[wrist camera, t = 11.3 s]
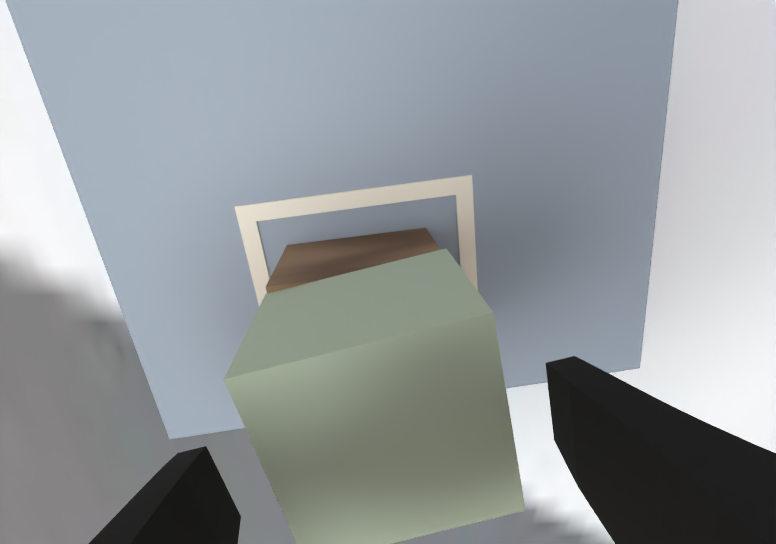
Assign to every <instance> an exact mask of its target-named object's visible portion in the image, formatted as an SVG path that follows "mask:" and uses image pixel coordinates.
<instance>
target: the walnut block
mask: <svg viewBox="0 0 776 544" xmlns="http://www.w3.org/2000/svg"><path fill="white" fill-rule="evenodd" d="M438 250H441V249H440V248H439V246H438V245H437V243H436V242H435V241H434V239H433V238H432V236H431V235H430V233H429V232H428V230H427V229H426V228H418V229H410V230H402V231H394V232H386V233H378V234H370V235H362V236H355V237H347V238H339V239H331V240H323V241H315V242H307V243H299V244H291V245H287V246H286V248H285V250H284V252H283V254H282V256H281V258H280V259H279V261H278V263H277V265H276V267H275V269H274V271H273V273H272V275H271V277H270V279H269V281H268V283H267V285H266V291H267V293H270V292H274V291H278V290H282V289H286V288H290V287H294V286H298V285H302V284H306V283H310V282H314V281H318V280H322V279H326V278H330V277H334V276H338V275H342V274H346V273H350V272H354V271H358V270H362V269H366V268H370V267H374V266H378V265H382V264H386V263H390V262H394V261H398V260H402V259H406V258H410V257H414V256H418V255H422V254H426V253H430V252H434V251H438Z"/></svg>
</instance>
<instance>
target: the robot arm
mask: <svg viewBox="0 0 776 544" xmlns="http://www.w3.org/2000/svg"><path fill="white" fill-rule="evenodd" d="M545 364H546V372H547V381H548V390H549V398H550V407H551V415H552V424H553V433H554V440H555V442H556V444H557V446H558V448H559V450H560V452H561V454H562V456H563V458H564V460H565V462H566V464H567V466H568V468H569V470H570V472H571V474H572V476H573V478H574V480H575V482H576V483H577V485H578V487H579V489H580V490H581V492H582V493H583V495H584V497H585V498H586V500H587V501H588V503H589V504H590V506H591V507H592V509H593V510H594V512H595V513H596V515H597V516H598V518H599V520H600V521H601V523H602V524H603V526H604V527H605V529H606V530H607V532H608V533H609V535H610V536H611V538H612V539H613V541H614V542H615V544H776V453H773V452H771V451H769V450H766V449H764V448H761V447H759V446H757V445H754V444H752V443H750V442H748V441H746V440H743V439H741V438H739V437H737V436H734V435H732V434H730V433H728V432H725V431H723V430H721V429H719V428H716V427H714V426H712V425H710V424H708V423H706V422H703V421H701V420H699V419H697V418H695V417H693V416H691V415H689V414H687V413H685V412H683V411H680V410H678V409H676V408H674V407H672V406H670V405H668V404H666V403H664V402H662V401H660V400H658V399H656V398H654V397H652V396H650V395H649V394H647V393H645V392H643V391H641V390H639V389H637V388H635V387H633V386H631V385H629V384H627V383H626V382H624V381H622V380H620V379H618V378H616V377H614V376H612V375H610V374H609V373H607V372H605V371H603V370H601V369H599V368H597V367H595V366H593V365H592V364H590V363H588V362H586V361H584V360H582V359H580V358H578V357H576V356H572V357H568V358H564V359H559V360H555V361H551V362H547V363H545ZM240 520H241V516H240V514H239V512H238V510H237V508H236V506H235V504H234V502H233V500H232V498H231V496H230V494H229V492H228V490H227V488H226V486H225V483H224V481H223V479H222V477H221V475H220V473H219V471H218V469H217V467H216V465H215V463H214V461H213V459H212V457H211V455H210V453H209V451H208V449H207V447H206V446H205V447H201V448H197V449H193V450H189V451H185V452H181V453H177V454H176V455H175V456H174V457H173V458H172V459H171V460H170V461H169V462H168V463H167V464H166V465H165V466H164V467H162V468H161V469H160V470H159V471H158V472H157V473H156V474H155V475H154V477H153V478H152V479H151V480H150V481H149V482H148V483H147V484H146V485H145V486H144V487H143V488H142V489H141V490H140V491H139V492H138V493H137V494H136V495H135V496H134V497H133V498H132V499H131V500H130V501H129V502H128V503H127V505H126V506H125V507H124V508H123V509H122V510H121V511H120V512H119V513H118V514H117V515H116V516H115V517H114V518H113V519H112V520H111V521H110V522H109V523H108V524H107V525H106V526H105V527H104V528H103V529H102V530H101V532H100V533H99V534H98V535H97V536H96V537H95V538H94V539H93V540H92V541H91V542H90V543H89V544H237V543H238V535H239V527H240Z"/></svg>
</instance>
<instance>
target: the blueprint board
mask: <svg viewBox="0 0 776 544" xmlns="http://www.w3.org/2000/svg"><path fill="white" fill-rule="evenodd" d="M6 3H7V6H8V8H9V11H10V14H11V16H12V19H13V22H14V24H15V27H16V30H17V32H18V35H19V38H20V40H21V43H22V46H23V48H24V51H25V54H26V56H27V59H28V62H29V64H30V67H31V70H32V72H33V75H34V78H35V80H36V83H37V86H38V88H39V91H40V94H41V96H42V99H43V102H44V104H45V107H46V110H47V113H48V115H49V118H50V121H51V123H52V126H53V129H54V131H55V134H56V137H57V139H58V142H59V145H60V147H61V150H62V153H63V155H64V158H65V161H66V163H67V166H68V169H69V171H70V174H71V177H72V179H73V182H74V185H75V187H76V190H77V193H78V195H79V198H80V201H81V203H82V206H83V209H84V211H85V214H86V217H87V219H88V222H89V225H90V227H91V230H92V233H93V235H94V238H95V241H96V243H97V246H98V249H99V251H100V254H101V257H102V260H103V262H104V265H105V268H106V270H107V273H108V276H109V278H110V281H111V284H112V286H113V289H114V292H115V294H116V297H117V300H118V302H119V305H120V308H121V310H122V313H123V316H124V318H125V321H126V324H127V326H128V329H129V332H130V334H131V337H132V340H133V342H134V345H135V348H136V350H137V353H138V356H139V358H140V361H141V364H142V366H143V369H144V372H145V374H146V377H147V380H148V382H149V385H150V388H151V390H152V393H153V396H154V399H155V401H156V404H157V407H158V409H159V412H160V415H161V417H162V420H163V423H164V425H165V428H166V431H167V433H168V436H169V439H174V438H181V437H187V436H194V435H201V434H207V433H214V432H220V431H227V430H234V429H240V428H245V426H244V424H243V422H242V420H241V417H240V415H239V413H238V411H237V408H236V406H235V404H234V402H233V399H232V397H231V395H230V393H229V390H228V388H227V386H226V384H225V381H224V378H225V376H226V374H227V372H228V370H229V368H230V366H231V364H232V362H233V360H234V357H235V355H236V353H237V351H238V349H239V347H240V345H241V343H242V341H243V339H244V337H245V335H246V333H247V331H248V329H249V327H250V325H251V323H252V321H253V319H254V317H255V315H256V313H257V311H258V309H259V306H260V304H261V302H262V300H263V298H264V296H265V294H266V293H267V291H266V285H267V283H268V281H269V279H270V277H271V275H272V273H273V271H274V269H275V267H276V265H277V263H278V261H279V259H280V258H281V256H282V254H283V252H284V250H285V248H286V246H287V245H291V244H299V243H307V242H315V241H323V240H331V239H339V238H347V237H355V236H362V235H370V234H378V233H386V232H394V231H402V230H410V229H418V228H426V229H427V230H428V232H429V233H430V235H431V236H432V238H433V239H434V241H435V242H436V243H437V245H438V246H439V248H440V249H441V250H442V249H446V248H447V250H448V251H449V253H450V254H451V255H452V257H453V258H454V259H455V261H456V262H457V263H458V265H459V266H460V268H461V269H462V270H463V272H464V273H465V274H466V276H467V277H468V278H469V280H470V281H471V283H472V284H473V285H474V287H475V288H476V289H477V291H478V292H479V293H480V295H481V296H482V297H483V299H484V300H485V302H486V303H487V304H488V306H489V307H490V308H491V310H492V311H493V314H494V320H495V326H496V332H497V338H498V344H499V350H500V357H501V363H502V369H503V375H504V381H505V387H506V388H512V387H518V386H525V385H531V384H538V383H545V382H548V381H547V372H546V364H545V363H547V362H551V361H555V360H559V359H564V358H568V357H572V356H576V357H578V358H580V359H582V360H584V361H586V362H588V363H590V364H592V365H593V366H595V367H597V368H599V369H601V370H603V371H605V372H607V373H611V372H617V371H624V370H631V369H637V368H640V361H641V351H642V342H643V332H644V323H645V313H646V304H647V294H648V285H649V275H650V265H651V256H652V246H653V237H654V227H655V218H656V208H657V199H658V189H659V179H660V170H661V160H662V151H663V141H664V132H665V122H666V113H667V103H668V93H669V84H670V74H671V65H672V55H673V46H674V36H675V27H676V17H677V7H678V0H6Z"/></svg>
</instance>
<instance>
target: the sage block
mask: <svg viewBox="0 0 776 544" xmlns="http://www.w3.org/2000/svg"><path fill="white" fill-rule="evenodd" d="M224 381H225V384H226V386H227V388H228V390H229V393H230V395H231V397H232V399H233V402H234V404H235V406H236V408H237V411H238V413H239V415H240V417H241V420H242V422H243V424H244V426H245V429H246V431H247V433H248V435H249V438H250V440H251V442H252V444H253V447H254V449H255V451H256V453H257V456H258V458H259V460H260V462H261V465H262V467H263V469H264V471H265V474H266V476H267V478H268V480H269V483H270V485H271V487H272V489H273V492H274V494H275V496H276V498H277V501H278V503H279V505H280V507H281V509H282V512H283V514H284V516H285V518H286V521H287V523H288V525H289V527H290V530H291V532H292V534H293V536H294V539H295V541H296V543H297V544H392V543H396V542H400V541H404V540H408V539H412V538H416V537H420V536H424V535H428V534H432V533H436V532H440V531H444V530H448V529H452V528H456V527H460V526H464V525H468V524H473V523H477V522H481V521H485V520H489V519H493V518H497V517H501V516H505V515H509V514H513V513H517V512H521V511H525V504H524V498H523V492H522V486H521V480H520V474H519V467H518V461H517V455H516V449H515V443H514V437H513V430H512V424H511V418H510V412H509V406H508V400H507V394H506V387H505V381H504V375H503V369H502V363H501V357H500V350H499V344H498V338H497V332H496V326H495V320H494V314H493V311H492V310H491V308H490V307H489V306H488V304H487V303H486V302H485V300H484V299H483V297H482V296H481V295H480V293H479V292H478V291H477V289H476V288H475V287H474V285H473V284H472V283H471V281H470V280H469V278H468V277H467V276H466V274H465V273H464V272H463V270H462V269H461V268H460V266H459V265H458V263H457V262H456V261H455V259H454V258H453V257H452V255H451V254H450V253H449V251H448V250H447V248H446V249H442V250H438V251H434V252H430V253H426V254H422V255H418V256H414V257H410V258H406V259H402V260H398V261H394V262H390V263H386V264H382V265H378V266H374V267H370V268H366V269H362V270H358V271H354V272H350V273H346V274H342V275H338V276H334V277H330V278H326V279H322V280H318V281H314V282H310V283H306V284H302V285H298V286H294V287H290V288H286V289H282V290H278V291H274V292H270V293H266V294H265V296H264V298H263V300H262V302H261V304H260V306H259V309H258V311H257V313H256V315H255V317H254V319H253V321H252V323H251V325H250V327H249V329H248V331H247V333H246V335H245V337H244V339H243V341H242V343H241V345H240V347H239V349H238V351H237V353H236V355H235V357H234V360H233V362H232V364H231V366H230V368H229V370H228V372H227V374H226V376H225V378H224Z"/></svg>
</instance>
